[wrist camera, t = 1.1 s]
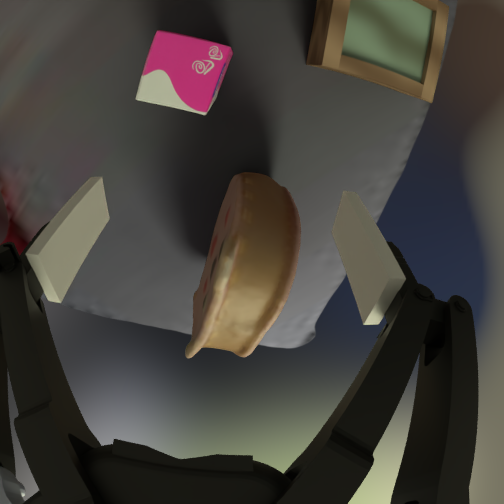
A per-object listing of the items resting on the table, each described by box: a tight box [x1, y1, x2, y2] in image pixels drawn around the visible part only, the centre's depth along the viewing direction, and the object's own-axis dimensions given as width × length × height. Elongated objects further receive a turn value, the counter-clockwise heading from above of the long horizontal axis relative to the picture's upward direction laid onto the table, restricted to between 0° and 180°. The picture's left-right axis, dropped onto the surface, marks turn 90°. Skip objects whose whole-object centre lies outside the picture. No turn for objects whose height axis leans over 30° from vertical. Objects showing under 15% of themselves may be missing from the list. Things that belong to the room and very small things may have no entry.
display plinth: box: [306, 0, 449, 103], centre depth 20 cm, size 12×12×7 cm
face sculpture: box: [185, 172, 301, 358], centre depth 32 cm, size 20×7×17 cm, turn 161°
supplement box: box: [136, 30, 233, 115], centre depth 21 cm, size 6×6×12 cm
